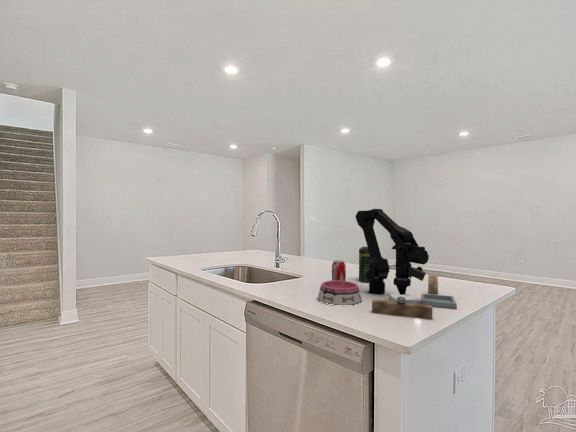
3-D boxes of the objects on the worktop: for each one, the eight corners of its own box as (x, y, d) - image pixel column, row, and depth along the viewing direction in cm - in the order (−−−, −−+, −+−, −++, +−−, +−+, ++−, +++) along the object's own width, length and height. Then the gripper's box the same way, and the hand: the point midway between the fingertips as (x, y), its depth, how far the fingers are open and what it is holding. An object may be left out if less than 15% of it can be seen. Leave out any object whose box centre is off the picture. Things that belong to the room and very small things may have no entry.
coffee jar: (375, 283, 161) (375, 247, 161) (360, 282, 162) (360, 247, 162) (372, 279, 171) (372, 245, 171) (358, 278, 172) (357, 245, 172)
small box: (408, 306, 119) (408, 293, 119) (417, 313, 112) (417, 299, 112) (388, 307, 119) (388, 294, 119) (396, 313, 111) (396, 299, 111)
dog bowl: (370, 299, 130) (369, 283, 130) (347, 309, 117) (346, 291, 117) (333, 292, 143) (333, 277, 143) (308, 300, 129) (308, 284, 129)
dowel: (428, 293, 138) (428, 276, 138) (428, 291, 142) (428, 274, 142) (438, 294, 137) (438, 276, 137) (437, 292, 141) (437, 275, 141)
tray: (421, 305, 120) (421, 300, 120) (421, 298, 131) (421, 293, 131) (456, 309, 116) (456, 303, 116) (453, 301, 127) (453, 296, 127)
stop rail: (372, 312, 112) (371, 296, 112) (373, 310, 115) (373, 294, 115) (432, 319, 104) (432, 301, 104) (432, 316, 107) (431, 299, 107)
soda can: (345, 286, 154) (345, 262, 154) (331, 285, 156) (331, 262, 156) (345, 283, 161) (345, 260, 161) (332, 282, 162) (332, 260, 162)
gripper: (424, 265, 115) (424, 307, 116) (424, 259, 133) (423, 295, 133) (393, 263, 120) (393, 303, 120) (396, 257, 137) (396, 292, 137)
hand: (403, 298), depth 127 cm, fingers closed
